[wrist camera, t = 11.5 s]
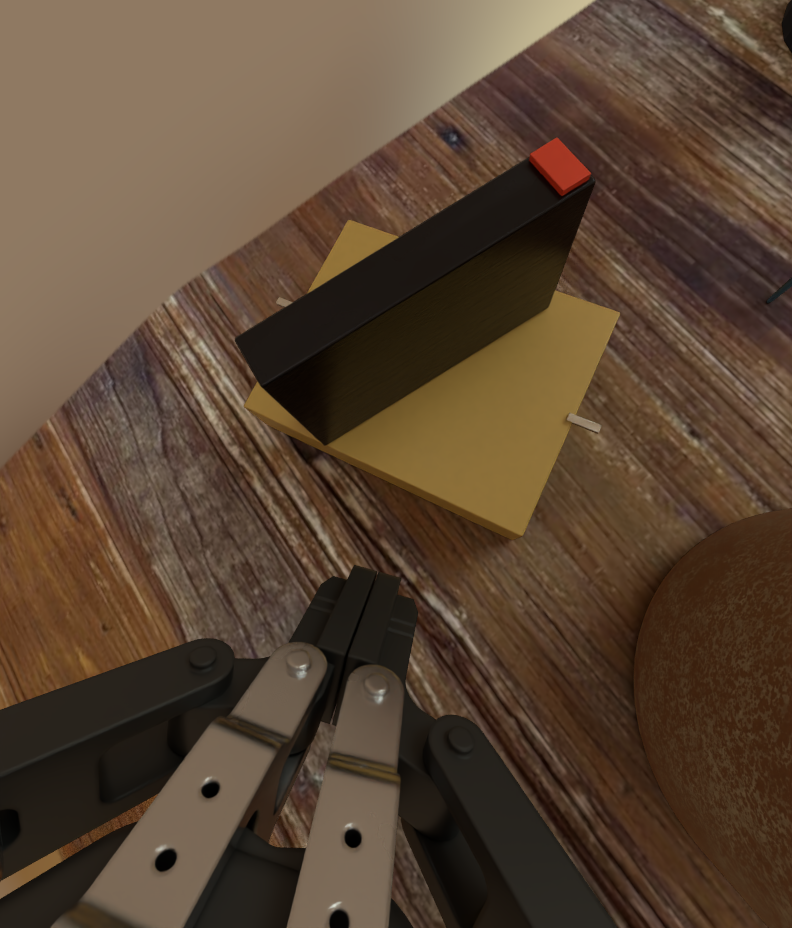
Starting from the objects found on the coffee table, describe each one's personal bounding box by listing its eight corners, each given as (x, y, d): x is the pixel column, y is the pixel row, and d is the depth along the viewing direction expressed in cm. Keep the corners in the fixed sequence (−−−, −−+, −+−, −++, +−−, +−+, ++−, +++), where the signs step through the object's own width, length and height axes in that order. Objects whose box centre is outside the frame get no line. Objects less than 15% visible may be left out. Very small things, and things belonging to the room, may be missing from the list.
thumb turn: (324, 447, 20) (257, 384, 13) (304, 412, 21) (228, 334, 14) (549, 307, 20) (600, 172, 13) (523, 276, 21) (559, 130, 14)
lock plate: (250, 417, 24) (221, 396, 21) (343, 251, 26) (328, 210, 23) (535, 551, 21) (549, 548, 18) (621, 352, 23) (647, 318, 20)
